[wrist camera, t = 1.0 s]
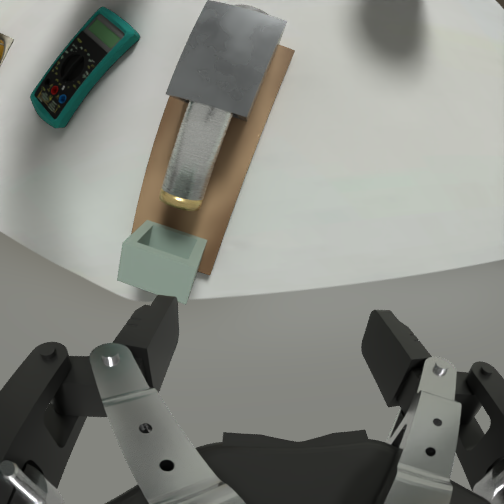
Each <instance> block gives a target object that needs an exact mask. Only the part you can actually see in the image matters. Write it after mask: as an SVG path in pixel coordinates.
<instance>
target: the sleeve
mask: <svg viewBox="0 0 504 504" xmlns="http://www.w3.org/2000/svg"><path fill="white" fill-rule="evenodd" d="M286 23H287V21H285V20H282V19H279V18H276V17H273V16H270V15H267V14H263V13H260V12H256V11H253V10H249V9H245V8H242V7H238V6H233V5H229V4H225V3H220V2H215V1H210V0H208V1H207V2H206V4H205V6H204V8H203V10H202V12H201V14H200V16H199V18H198V20H197V22H196V24H195V26H194V28H193V30H192V32H191V34H190V37H189V39H188V41H187V43H186V45H185V48H184V50H183V52H182V54H181V57H180V59H179V62H178V64H177V66H176V69H175V71H174V74H173V76H172V79H171V81H170V84H169V87H168V89H167V92H166V94H167V95H169V96H171V97H173V98H175V99H178V100H180V101H182V102H184V103H187V104H188V103H189V101H193V102H197V103H200V104H204V105H207V106H211V107H214V108H217V109H221V110H224V111H227V112H230V113H233V116H232V117H235V118H238V119H241V120H244V121H246V122H247V121H248V118H249V116H250V113H251V111H252V108H253V106H254V103H255V101H256V98H257V96H258V93H259V91H260V88H261V86H262V83H263V81H264V78H265V76H266V74H267V71H268V69H269V66H270V64H271V62H272V59H273V57H274V55H275V52H276V50H277V48H278V45H279V43H280V40H281V37H282V34H283V31H284V28H285V26H286Z"/></svg>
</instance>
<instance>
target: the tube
mask: <svg viewBox="0 0 504 504" xmlns="http://www.w3.org/2000/svg"><path fill="white" fill-rule="evenodd" d="M233 6H238V7H242V8H245V9H249V10H253V11H256V12H260V13H263V14H267V13H265V12H264V11H262V10H260V9H258V8H255V7H252V6H247V5H233ZM267 15H268V14H267ZM232 116H233V113H230V112H227V111H224V110H221V109H217V108H214V107H211V106H207V105H204V104H200V103H197V102H193V101H189V103H188V106H187V109H186V112H185V114H184V117H183V120H182V123H181V126H180V129H179V132H178V135H177V138H176V141H175V144H174V147H173V150H172V153H171V157H170V160H169V163H168V166H167V170H166V173H165V177H164V180H163V184H162V187H161V191H160V195H159V199H160V201H161V202H163V203H164V204H166V205H168V206H171V207H174V208H177V209H181V210H186V211H197V210H199V209H200V207H201V204H202V201H203V198H204V195H205V192H206V189H207V186H208V183H209V180H210V177H211V174H212V171H213V168H214V165H215V162H216V159H217V156H218V154H219V151H220V148H221V145H222V142H223V140H224V137H225V134H226V132H227V129H228V126H229V124H230V121H231V118H232Z"/></svg>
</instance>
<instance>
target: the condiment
mask: <svg viewBox="0 0 504 504" xmlns="http://www.w3.org/2000/svg"><path fill="white" fill-rule="evenodd" d="M13 40H14V39H12V38H10V37H8V36H6V35H3V34H1V33H0V65H1V63H2V61H3V59H4V57H5V55H6V53H7V51H8V48H9V47H10V45H11V43H12V41H13Z"/></svg>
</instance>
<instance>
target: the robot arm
mask: <svg viewBox="0 0 504 504" xmlns="http://www.w3.org/2000/svg"><path fill="white" fill-rule="evenodd" d="M178 336H179V323H178V301H177V297H174V296H165V295H158V296H157V297H156V298H155V300H154V301H153V303H152V304H151V306H149V305H144V306H142V307H141V308H139V309H137V310H136V311H135V312H134V313H133V315H132V316H131V318H130V319H129V320H128V322H127V323H126V325H125V326H124V327H123V329H122V330H121V331H120V333H119V334H118V336H117V337H116V338H115V340H114V341H113V343H107V344H102V345H100V346H98V347H96V348H95V349H94V350H93V351H92V352H91V354H90V356H69V355H68V352H67V349H66V347H65V346H64V345H62V344H60V343H57V342H47V343H44V344H41V345H39V346H37V347H36V348H35V349H34V350H33V351H32V352H31V353H30V355H29V356H28V357H27V358H26V359H25V361H24V362H23V363H22V364H21V365H20V367H19V368H18V369H17V370H16V372H15V373H14V374H13V375H12V377H11V378H10V379H9V381H8V382H7V383H6V384H5V386H4V387H3V388H2V390H1V391H0V504H64V500H63V497H62V496H61V494H60V493H59V491H58V490H57V488H58V485H59V482H60V480H61V477H62V474H63V472H64V469H65V466H66V464H67V462H68V459H69V457H70V454H71V452H72V450H73V447H74V445H75V443H76V440H77V438H78V436H79V433H80V431H81V429H82V427H83V424H84V422H85V420H86V418H87V416H89V417H92V416H93V417H108V419H109V422H110V424H111V427H112V429H113V432H114V434H115V437H116V439H117V441H118V444H119V446H120V448H121V450H122V453H123V455H124V457H125V459H126V461H127V463H128V465H129V468H130V469H131V471H132V474H133V476H134V477H135V479H136V481H137V483H138V485H136V486H135V487H133V488H131V489H130V490H128V491H126V492H125V493H123V494H121V495H119V496H118V497H116V498H114V499H113V500H111V501H109V502H107V503H106V504H504V379H503V378H502V376H501V375H500V374H499V373H498V372H497V370H496V369H495V368H494V367H492V366H491V365H490V364H488V363H485V362H476V363H474V364H473V365H472V367H471V369H470V371H469V373H466V372H457V371H456V368H455V367H454V365H453V364H452V363H451V362H449V361H448V360H446V359H444V358H440V357H432V356H431V355H430V354H429V353H428V351H427V350H426V349H425V347H424V346H423V345H422V344H421V342H420V341H418V339H417V337H416V336H415V335H414V334H413V332H412V331H411V330H410V329H409V328H408V327H407V326H406V325H404V324H403V323H401V322H400V321H399V320H398V319H397V318H396V317H395V316H394V314H393V313H392V312H391V311H390V310H374V311H372V312H371V314H370V317H369V321H368V324H367V327H366V331H365V334H364V337H363V340H362V347H361V348H362V354H363V357H364V358H365V360H366V362H367V364H368V366H369V368H370V371H371V373H372V374H373V377H374V379H375V380H376V383H377V385H378V387H379V389H380V391H381V393H382V395H383V397H384V400H385V401H386V403H387V406H388V407H392V406H400V407H401V409H400V410H399V412H398V414H397V416H396V419H395V421H394V424H393V427H392V429H391V432H390V434H389V436H388V438H387V441H386V443H385V442H381V441H377V440H371V439H368V437H367V434H366V431H365V430H359V431H351V432H340V433H332V434H329V435H325V436H322V437H318V438H314V439H311V440H307V441H302V442H294V441H288V440H284V439H278V438H274V437H269V436H265V435H257V434H256V435H255V434H239V433H226V432H224V433H223V442H219V443H212V444H207V445H204V446H200V447H197V448H195V447H194V446H193V445H192V443H191V442H190V440H189V439H188V438H187V436H186V435H185V433H184V432H183V430H182V429H181V427H180V426H179V425H178V423H177V422H176V420H175V418H174V417H173V415H172V414H171V412H170V411H169V409H168V407H167V406H166V404H165V403H164V401H163V399H162V398H161V396H160V395H159V391H160V388H161V385H162V382H163V380H164V377H165V375H166V372H167V369H168V367H169V364H170V361H171V359H172V356H173V353H174V351H175V348H176V345H177V343H178ZM49 403H50V404H49ZM481 406H483V407H484V409H485V411H486V412H487V414H488V415H489V417H490V419H491V425H490V428H489V430H488V431H487V433H486V434H484V433H483V431H482V429H481V428H480V426H479V424H478V422H477V421H476V419H475V417H474V416H475V415H476V414H477V412H478V411H479V409H480V408H481ZM46 408H47V409H46ZM455 452H456V453H457V456H458V458H459V460H460V462H461V465H462V467H463V469H464V472H465V474H466V477H467V479H468V481H469V484H470V486H471V489H472V491H473V492H472V491H470V490H468V489H466V488H464V487H462V486H461V485H459V484H457V483H455V482H453V481H451V480H450V476H451V472H452V467H453V462H454V457H455Z"/></svg>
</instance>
